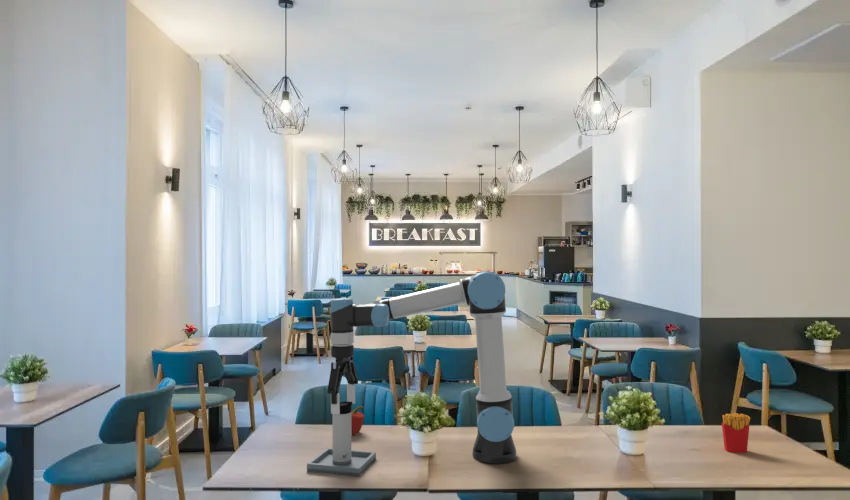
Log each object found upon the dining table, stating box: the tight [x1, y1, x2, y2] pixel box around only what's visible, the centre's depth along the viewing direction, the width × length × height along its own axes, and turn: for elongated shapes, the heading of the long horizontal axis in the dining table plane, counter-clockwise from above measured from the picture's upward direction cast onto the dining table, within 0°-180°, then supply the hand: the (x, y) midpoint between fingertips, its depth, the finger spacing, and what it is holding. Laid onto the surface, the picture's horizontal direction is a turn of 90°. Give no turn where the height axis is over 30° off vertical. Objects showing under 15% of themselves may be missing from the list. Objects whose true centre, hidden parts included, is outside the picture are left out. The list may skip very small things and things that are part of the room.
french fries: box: [721, 412, 751, 454], centre depth 205 cm, size 9×4×13 cm, turn 85°
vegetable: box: [351, 405, 365, 436], centre depth 227 cm, size 11×10×10 cm
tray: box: [306, 447, 377, 477], centre depth 192 cm, size 18×16×2 cm
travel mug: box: [332, 401, 353, 465], centre depth 192 cm, size 6×7×20 cm
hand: (343, 408), depth 192 cm, fingers open, 13 cm apart
